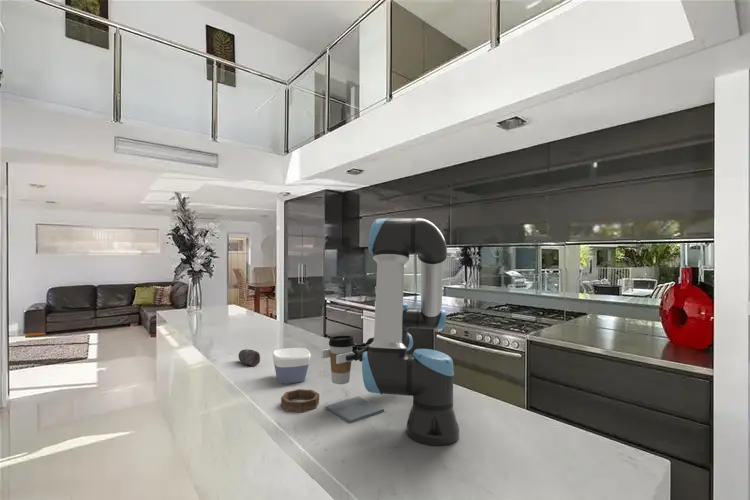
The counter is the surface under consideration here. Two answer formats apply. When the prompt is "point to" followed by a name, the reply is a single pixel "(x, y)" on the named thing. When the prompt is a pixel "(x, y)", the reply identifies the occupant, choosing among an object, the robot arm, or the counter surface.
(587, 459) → the counter surface
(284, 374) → the blue white tub
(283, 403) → the cup cradle
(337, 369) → the coffee cup
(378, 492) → the counter surface
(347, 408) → the rubber mat
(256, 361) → the perforated stone tool
